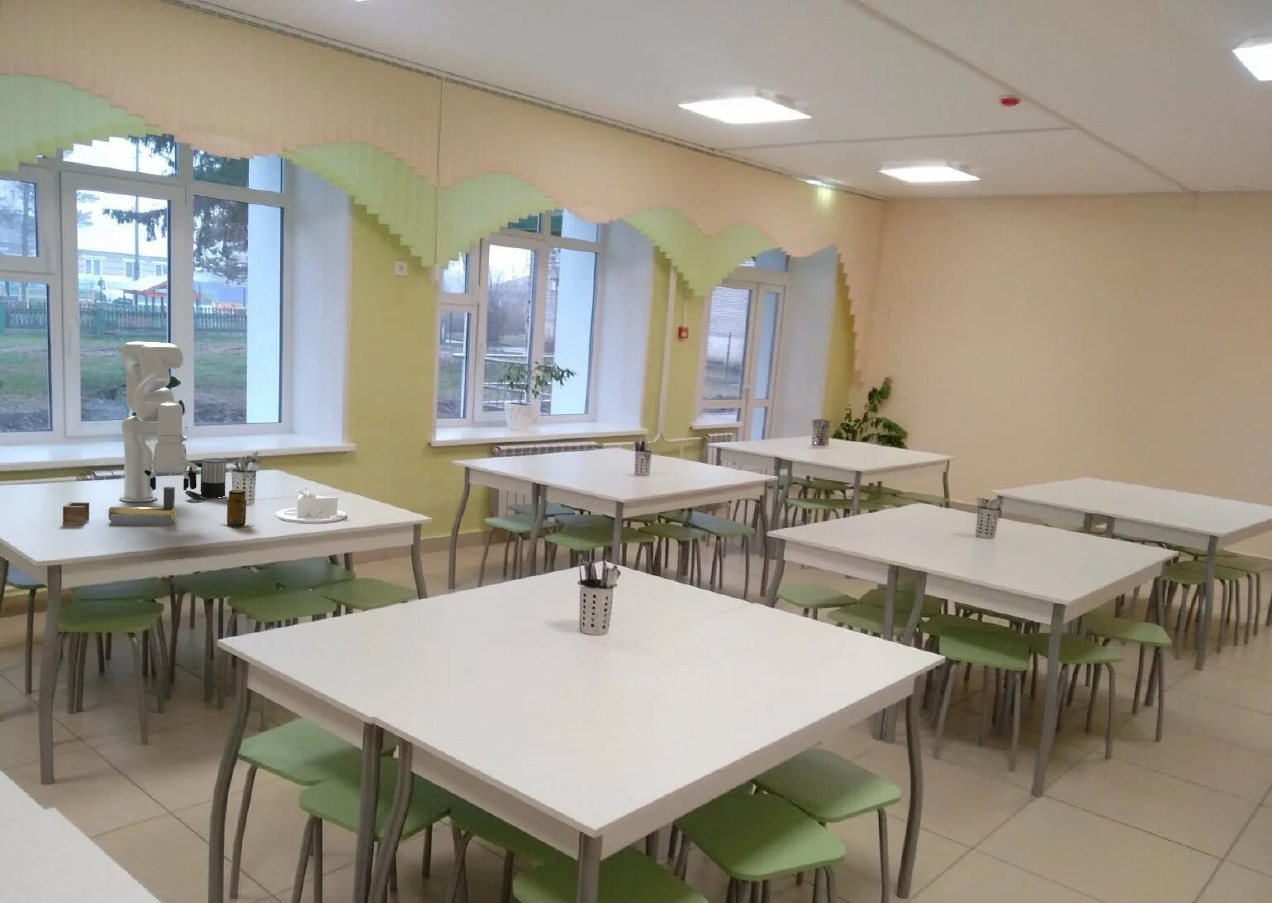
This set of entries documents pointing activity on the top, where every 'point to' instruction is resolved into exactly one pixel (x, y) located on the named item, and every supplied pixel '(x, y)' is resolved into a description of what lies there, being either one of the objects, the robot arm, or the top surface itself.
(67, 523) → the socket
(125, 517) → the channel
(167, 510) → the bolt
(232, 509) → the condiment
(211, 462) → the milk frother
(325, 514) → the dish
